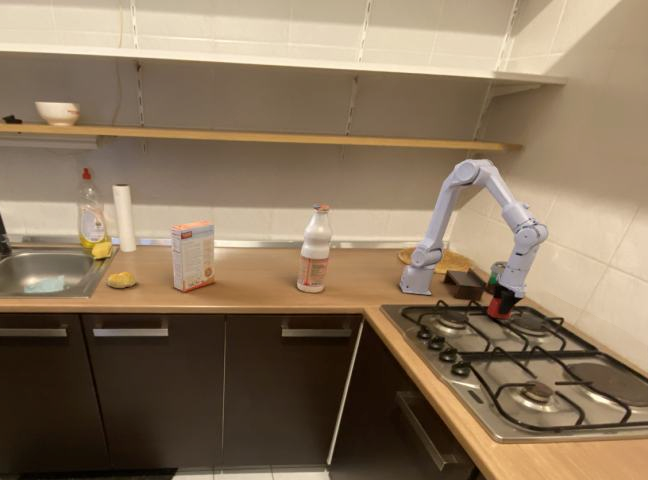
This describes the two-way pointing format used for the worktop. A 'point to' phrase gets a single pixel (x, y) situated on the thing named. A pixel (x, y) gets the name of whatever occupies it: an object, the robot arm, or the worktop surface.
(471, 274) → the dark brown storage bin
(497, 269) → the food container
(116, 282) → the bread roll
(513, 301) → the robot arm
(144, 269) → the worktop surface
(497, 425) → the worktop surface
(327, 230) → the fruit juice
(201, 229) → the cracker box
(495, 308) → the block
